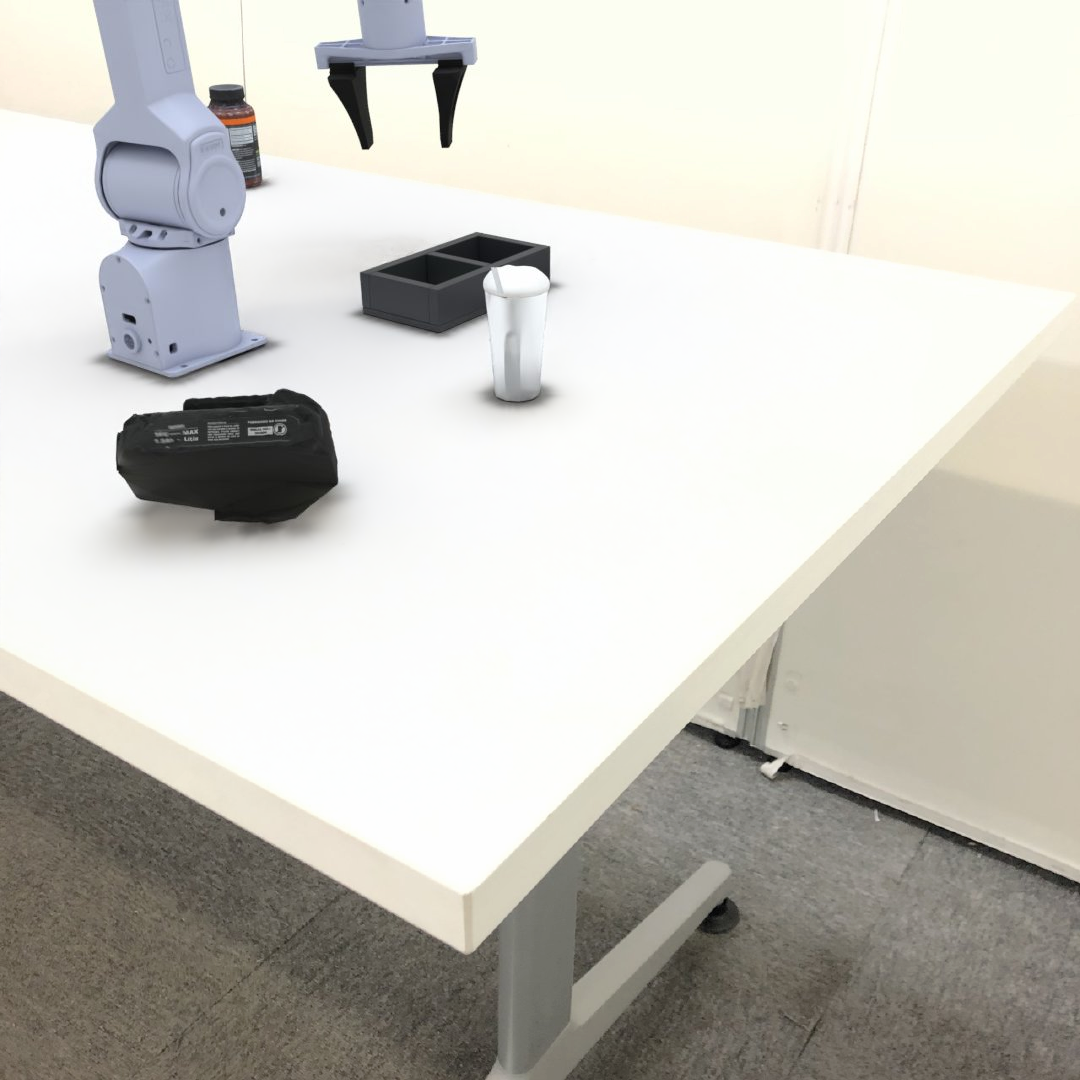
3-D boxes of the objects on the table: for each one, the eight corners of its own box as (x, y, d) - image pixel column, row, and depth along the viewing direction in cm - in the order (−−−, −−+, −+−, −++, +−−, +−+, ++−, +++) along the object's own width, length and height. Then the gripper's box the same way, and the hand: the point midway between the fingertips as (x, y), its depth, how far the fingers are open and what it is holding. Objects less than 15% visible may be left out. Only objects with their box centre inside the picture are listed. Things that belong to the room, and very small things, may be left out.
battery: (353, 534, 66) (345, 431, 69) (325, 473, 59) (318, 360, 61) (150, 561, 66) (150, 456, 69) (97, 503, 58) (99, 387, 61)
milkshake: (467, 402, 79) (463, 262, 74) (504, 377, 84) (503, 243, 79) (524, 414, 78) (523, 272, 73) (559, 388, 82) (561, 252, 77)
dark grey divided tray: (550, 285, 103) (550, 246, 101) (439, 333, 92) (437, 290, 90) (477, 269, 107) (476, 231, 106) (362, 313, 96) (359, 272, 94)
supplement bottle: (209, 181, 139) (195, 84, 134) (257, 177, 141) (245, 81, 136) (218, 191, 135) (205, 91, 129) (268, 187, 137) (256, 88, 131)
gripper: (476, -23, 101) (488, 131, 109) (320, -17, 102) (343, 134, 110) (464, -8, 95) (477, 154, 103) (298, -2, 97) (324, 157, 105)
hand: (407, 145), depth 106 cm, fingers open, 7 cm apart
